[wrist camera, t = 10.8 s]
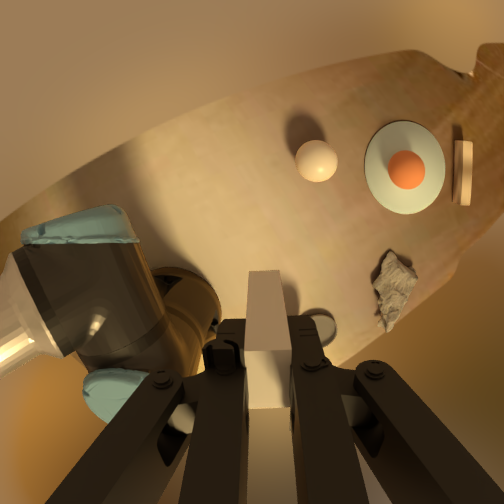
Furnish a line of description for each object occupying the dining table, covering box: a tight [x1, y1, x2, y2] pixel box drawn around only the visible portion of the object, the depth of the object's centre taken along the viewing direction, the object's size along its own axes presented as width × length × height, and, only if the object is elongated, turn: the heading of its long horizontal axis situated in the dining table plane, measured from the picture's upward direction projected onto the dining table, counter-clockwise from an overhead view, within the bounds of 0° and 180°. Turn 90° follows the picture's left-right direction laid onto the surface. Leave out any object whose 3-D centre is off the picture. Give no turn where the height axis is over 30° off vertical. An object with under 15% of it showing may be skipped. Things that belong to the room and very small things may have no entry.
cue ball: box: [295, 140, 338, 182], centre depth 39 cm, size 6×6×6 cm
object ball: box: [388, 150, 425, 189], centre depth 39 cm, size 6×6×6 cm
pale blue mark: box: [365, 121, 445, 214], centre depth 42 cm, size 14×14×1 cm
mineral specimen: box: [372, 251, 418, 333], centre depth 47 cm, size 6×12×4 cm, turn 161°
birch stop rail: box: [452, 140, 473, 205], centre depth 40 cm, size 10×2×2 cm, turn 3°
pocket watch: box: [310, 314, 337, 348], centre depth 46 cm, size 8×8×10 cm
